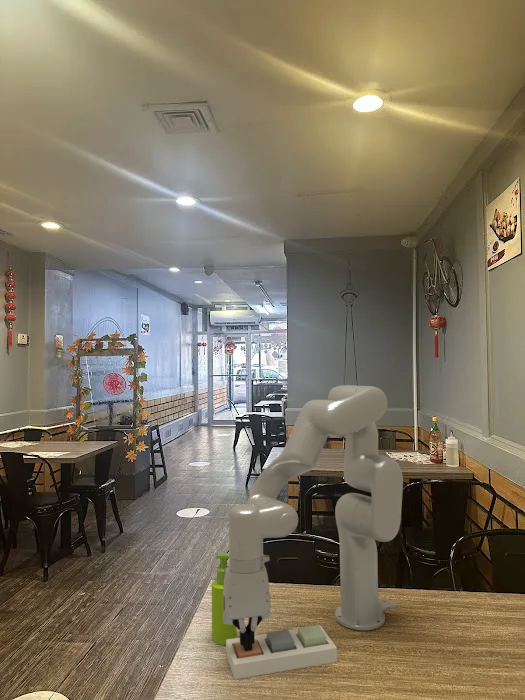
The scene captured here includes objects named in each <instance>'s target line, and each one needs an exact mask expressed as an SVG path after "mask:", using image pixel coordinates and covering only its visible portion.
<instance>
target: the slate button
mask: <svg viewBox="0 0 525 700" xmlns="http://www.w3.org/2000/svg"><path fill="white" fill-rule="evenodd" d="M288 630H289V629H284V630H276V631H271V632H267V633H266V634H267V643H268V645H269V647H270V650H271V652H272V653H276V652H282V651H288V650H294V640H293V638H292V636H291V635H290V633H289V631H288Z"/></svg>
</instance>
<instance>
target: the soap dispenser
mask: <svg viewBox="0 0 525 700" xmlns="http://www.w3.org/2000/svg"><path fill="white" fill-rule="evenodd" d="M216 559H219V566H217V568H216V579H215V580H213V581H212V582H211V638H212V639H211V640H212V643H214V644H215V645H218V646H226V640H227V639H234V638H238V637H237V636H238V635H237V630H238V628H237V627H236V626H234V625H233V624H232V625H230V624H224V622H223V615H224V610H223V586H224V577H225V571H226V568H228V567H229V566H228V560H229V552H219V553H218V554H217V556H216Z"/></svg>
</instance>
